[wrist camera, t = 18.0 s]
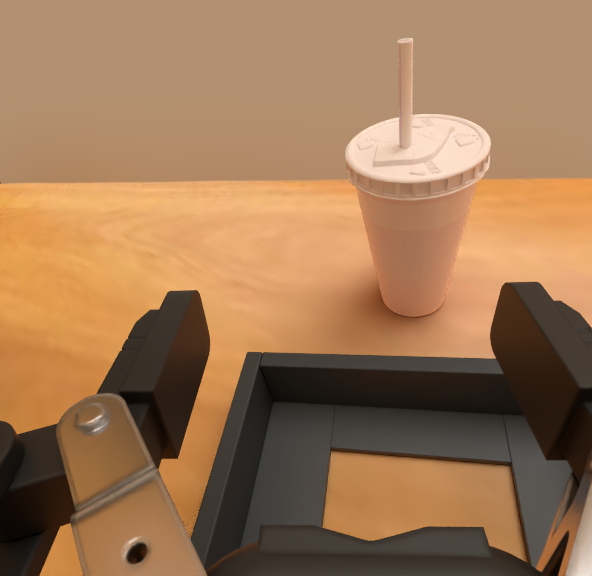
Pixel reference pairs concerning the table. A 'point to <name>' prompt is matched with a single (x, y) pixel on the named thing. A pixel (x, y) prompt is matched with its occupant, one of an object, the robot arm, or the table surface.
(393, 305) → the smoothie
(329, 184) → the table surface
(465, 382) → the dark grey rectangular frame
